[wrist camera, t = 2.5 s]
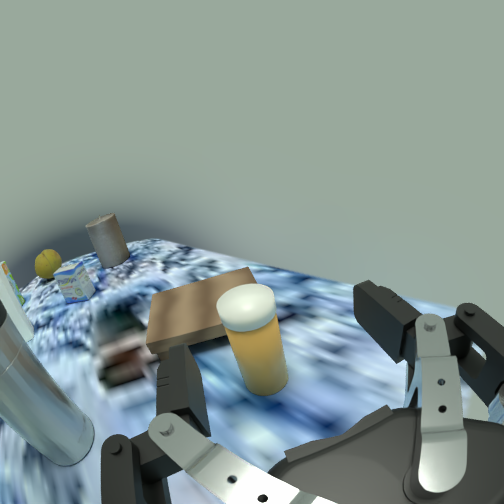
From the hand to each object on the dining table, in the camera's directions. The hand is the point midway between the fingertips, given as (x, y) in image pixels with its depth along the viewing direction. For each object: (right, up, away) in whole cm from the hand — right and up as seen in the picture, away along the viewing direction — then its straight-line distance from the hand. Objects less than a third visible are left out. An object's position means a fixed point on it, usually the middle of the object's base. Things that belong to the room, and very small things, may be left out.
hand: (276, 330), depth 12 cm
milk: (-54, -17, +32) cm, 64 cm away
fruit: (-70, -5, +64) cm, 95 cm away
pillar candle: (-42, +1, +63) cm, 76 cm away
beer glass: (+1, -11, +17) cm, 20 cm away
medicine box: (-43, -8, +45) cm, 63 cm away
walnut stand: (-7, -7, +29) cm, 31 cm away
